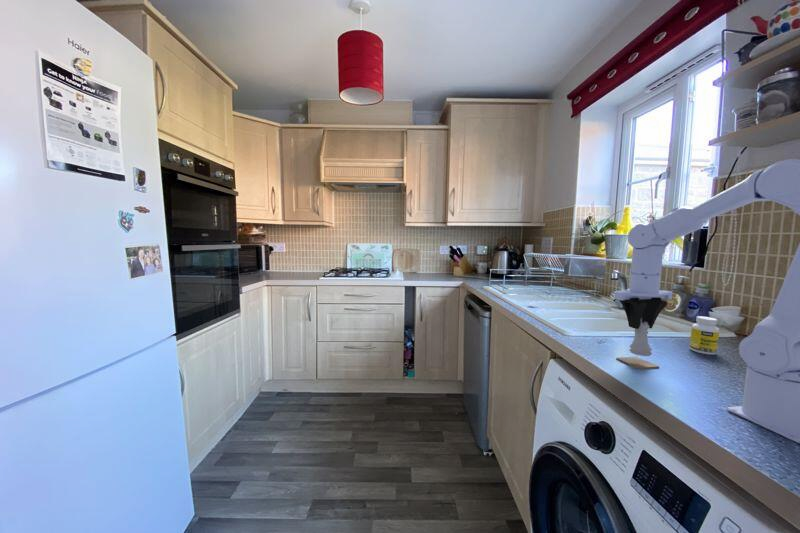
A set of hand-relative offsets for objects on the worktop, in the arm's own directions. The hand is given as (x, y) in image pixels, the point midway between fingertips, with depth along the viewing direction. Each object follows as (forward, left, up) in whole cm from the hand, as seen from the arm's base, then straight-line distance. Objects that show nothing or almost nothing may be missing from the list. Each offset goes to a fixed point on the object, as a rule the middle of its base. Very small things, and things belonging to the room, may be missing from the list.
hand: (640, 327), depth 73 cm
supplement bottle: (+5, -27, -10) cm, 29 cm away
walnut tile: (0, 0, -10) cm, 10 cm away
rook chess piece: (-1, 0, -7) cm, 7 cm away
